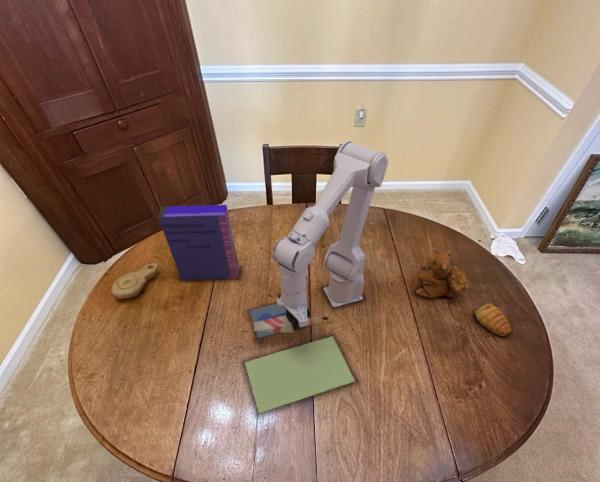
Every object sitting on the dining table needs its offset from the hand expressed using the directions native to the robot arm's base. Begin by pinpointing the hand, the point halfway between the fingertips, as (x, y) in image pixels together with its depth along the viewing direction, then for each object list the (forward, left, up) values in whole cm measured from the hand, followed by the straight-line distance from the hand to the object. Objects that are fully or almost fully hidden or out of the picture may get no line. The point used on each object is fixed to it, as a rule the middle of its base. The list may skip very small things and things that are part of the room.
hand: (294, 321), depth 88 cm
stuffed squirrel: (-46, -2, -8) cm, 46 cm away
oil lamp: (+39, -34, -8) cm, 53 cm away
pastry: (-53, +13, -8) cm, 55 cm away
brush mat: (+2, +10, -8) cm, 12 cm away
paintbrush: (0, 0, -2) cm, 2 cm away
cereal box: (+17, -32, -8) cm, 37 cm away
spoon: (+1, -8, -7) cm, 11 cm away
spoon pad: (+2, -8, -8) cm, 11 cm away
